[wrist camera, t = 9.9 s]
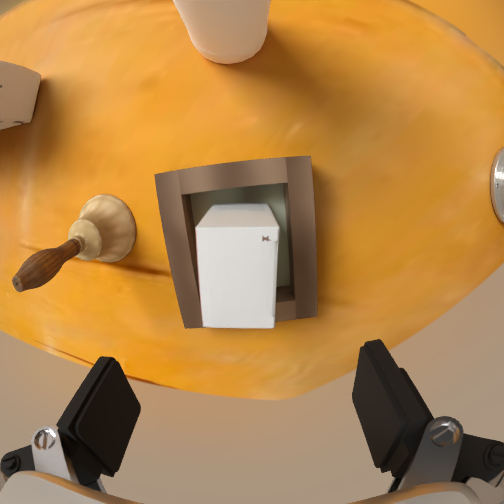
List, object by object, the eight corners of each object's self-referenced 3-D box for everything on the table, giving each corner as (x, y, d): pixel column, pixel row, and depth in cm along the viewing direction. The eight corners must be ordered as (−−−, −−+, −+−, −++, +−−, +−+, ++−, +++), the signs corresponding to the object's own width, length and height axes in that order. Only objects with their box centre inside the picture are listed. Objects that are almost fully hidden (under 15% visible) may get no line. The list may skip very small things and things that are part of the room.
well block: (301, 157, 27) (310, 155, 23) (308, 297, 32) (317, 316, 27) (168, 172, 27) (154, 174, 23) (192, 308, 32) (184, 328, 28)
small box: (213, 202, 27) (193, 223, 17) (269, 202, 27) (280, 224, 17) (215, 275, 30) (200, 329, 20) (267, 276, 30) (275, 330, 20)
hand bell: (146, 211, 28) (59, 259, 13) (124, 273, 31) (51, 349, 15) (90, 183, 27) (-11, 207, 12) (73, 243, 29) (-13, 296, 14)
